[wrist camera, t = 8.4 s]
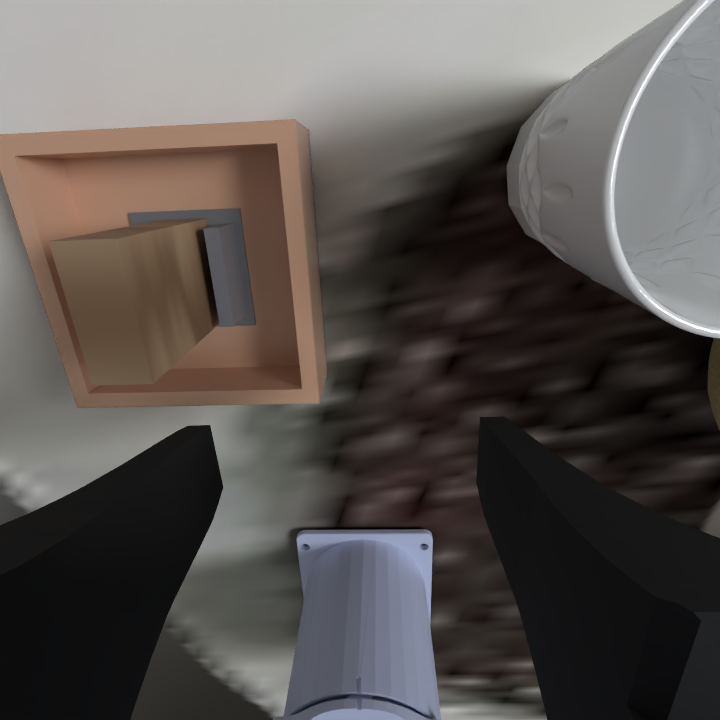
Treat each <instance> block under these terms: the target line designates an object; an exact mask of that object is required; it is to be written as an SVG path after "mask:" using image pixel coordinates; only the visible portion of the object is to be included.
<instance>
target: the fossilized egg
mask: <svg viewBox="0 0 720 720" xmlns="http://www.w3.org/2000/svg"><path fill="white" fill-rule="evenodd" d="M708 395H709V400H710V404H711V408H712V412H713V415H714V418H715V421H716V424H717V426H718V428H719V431H720V339H719V338H714V339H713V343H712V347H711V351H710V356H709V363H708Z"/></svg>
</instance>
